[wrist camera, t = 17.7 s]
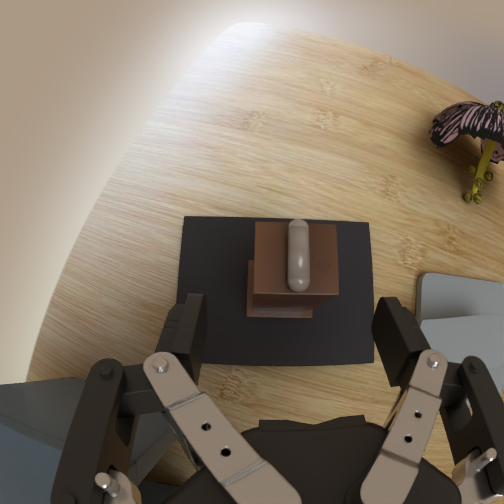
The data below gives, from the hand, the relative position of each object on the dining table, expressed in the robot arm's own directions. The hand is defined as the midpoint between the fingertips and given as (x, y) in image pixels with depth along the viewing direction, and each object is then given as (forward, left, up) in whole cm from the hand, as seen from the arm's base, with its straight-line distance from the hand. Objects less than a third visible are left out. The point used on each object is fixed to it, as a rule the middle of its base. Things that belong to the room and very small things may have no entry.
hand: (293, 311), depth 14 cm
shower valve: (+17, -2, -11) cm, 20 cm away
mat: (0, +3, -11) cm, 11 cm away
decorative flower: (+22, +17, -11) cm, 30 cm away
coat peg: (0, +3, -10) cm, 10 cm away
